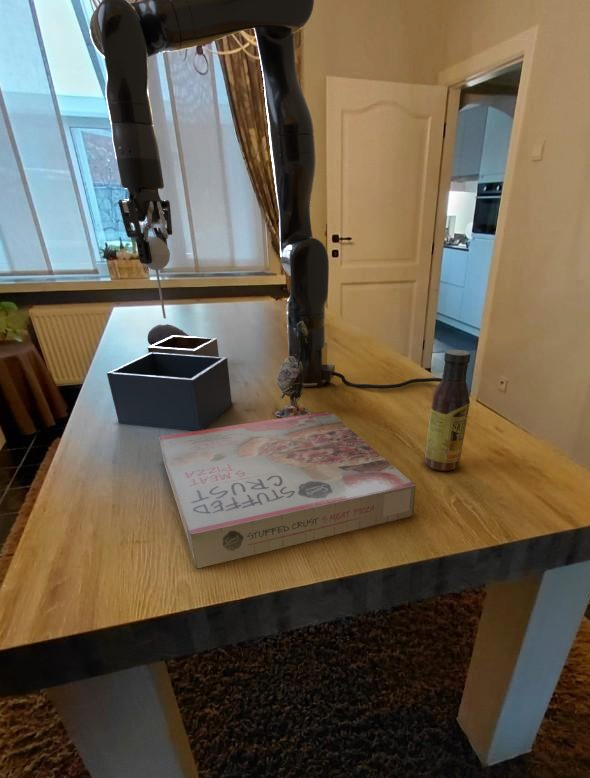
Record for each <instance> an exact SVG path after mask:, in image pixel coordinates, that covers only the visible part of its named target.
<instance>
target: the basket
mask: <svg viewBox="0 0 590 778" xmlns="http://www.w3.org/2000/svg"><path fill="white" fill-rule="evenodd" d="M147 352H148V353H150V352H154V353H168V354H182V355H196V356H210V357H220V353H219V344H218V338H216V337H201V336H190V337H187V336H171V337H169V338H166V339H164V340H162V341H160V342H158V343H156V344H153V345H149V346H147Z"/></svg>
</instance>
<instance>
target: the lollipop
mask: <svg viewBox="0 0 590 778" xmlns="http://www.w3.org/2000/svg"><path fill="white" fill-rule="evenodd" d="M146 242H149V246H150V252H151V257H152V263H150V264H143V265H144V266H145V267H146V268H148V269H149V270H153V271H155V275H156V281H157V287H158V292H159V298H160V305H161V311H162V316H163V319H167V316H166V310H165V303H164V297H163V292H162V286H161V280H160V279H161V278H160V274H159V271H160V270H163V269H164V268H165V267H167V265H168V264H169V262H170V258H171V251H170V249H169V247H167V246H168V244H167V245H166V244H165V243H164V241H162V240H161V239H160V238H158V237H154V235H150V236H149V235H148V241H146Z"/></svg>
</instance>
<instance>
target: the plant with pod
mask: <svg viewBox="0 0 590 778" xmlns="http://www.w3.org/2000/svg"><path fill="white" fill-rule="evenodd" d="M296 328H297V329H296V330H297V337H298V340H299V345H300V350H299V357H298V359H297V358H296V357H294V356H289V355H288V356H287V357H286V358H285V360H283V362H282V363H281V365H280V368H279V369H278V372H277V377H276V384H277V385H278V387H279V389H280V390H281V393H282V395H281V397H280V398H281V399H284V397H285V396H287V397H289V403H290V404H287V405H284V406H283V408H282V409H278V410H276V411H274V412H273V414H275V416H276V417H278V418H286V417H293V416H300V415H307V414H312V412H311V410H309V409H308V408H306V407H305V406H304V405H303V404H299V401H300V399H301V397H302V395H303V392H304V391H303V390H304V387H303V379H304V376H303V375H304V374H303V371H304V369H303V366H302V363H301V362H300V351H301V345H302V340H305V342H306V343H308V342H307V339H306V337H307V336H308V331H307V328H306V325H305V324H304V322H303V321H300V322H299V323H298V324H297V326H296ZM295 355H297V354H295Z"/></svg>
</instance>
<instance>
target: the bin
mask: <svg viewBox="0 0 590 778" xmlns="http://www.w3.org/2000/svg"><path fill="white" fill-rule="evenodd" d="M106 376H107V381H108V384H109V390H110V393H111V398H112V401H113V405H114V410H115V412H116V418H117V421H118V424H124V425H134V426H144V427H154V428H164V429H173V430H185V431H191V432H192V431H199V430H205V428H206V427H207V426H208V425H210V424H211V423H212V422H213V421H214V420H216V419H217V417H219V416H220V415H221V414H222V413H224V411H226V410H227V409H228V408H229V407H230V406H231V405H232V404H233V399H232V391H231V390H232V389H231V382H230V373H229V363H228V357H221V356H219V357H210V356H196V355H182V354H168V353H154V352H150V353H149V352H148V353H146V354H144V355H142V356H139V357H138V358H137V357H136V358H135V359H134V360H130V361H129V362H127V363H124V364H123V365H120V366H119V367H116V368H114V369H112V370H111V371H107V372H106Z"/></svg>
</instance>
